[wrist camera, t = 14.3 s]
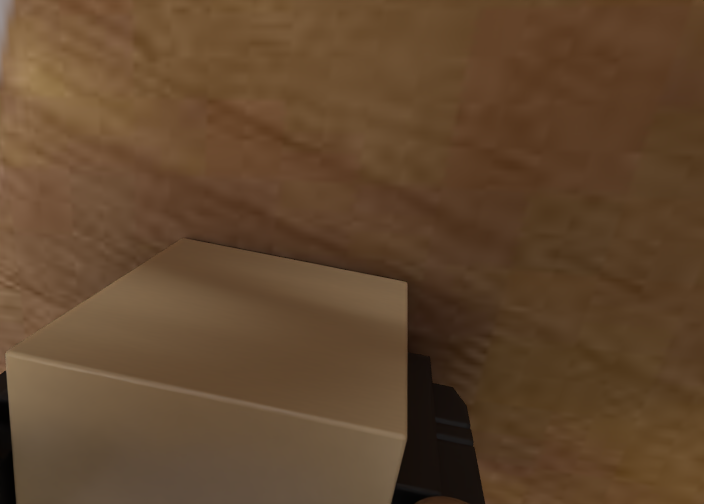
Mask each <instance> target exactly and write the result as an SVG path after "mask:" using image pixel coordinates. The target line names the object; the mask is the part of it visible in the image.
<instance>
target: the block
mask: <svg viewBox="0 0 704 504" xmlns="http://www.w3.org/2000/svg"><path fill="white" fill-rule="evenodd" d="M5 360H6V374H7V388H8V401H9V415H10V428H11V442H12V456H13V469H14V483H15V496H16V504H391V502H392V498H393V494H394V490H395V486H396V482H397V478H398V474H399V470H400V466H401V462H402V458H403V454H404V450H405V446H406V442H407V366H408V285H407V282H404V281H399V280H394V279H389V278H384V277H379V276H374V275H369V274H364V273H359V272H353V271H348V270H343V269H338V268H333V267H328V266H323V265H318V264H313V263H308V262H303V261H298V260H292V259H287V258H282V257H277V256H272V255H267V254H262V253H257V252H252V251H247V250H242V249H237V248H231V247H226V246H221V245H216V244H211V243H206V242H201V241H196V240H191V239H186V238H182V239H180V240H179V241H177V242H175V243H174V244H172V245H171V246H169V247H168V248H166V249H165V250H163V251H161V252H160V253H158V254H157V255H155V256H154V257H152V258H151V259H149V260H147V261H146V262H144V263H143V264H141V265H140V266H138V267H137V268H135V269H133V270H132V271H130V272H129V273H127V274H126V275H124V276H123V277H121V278H119V279H118V280H116V281H115V282H113V283H112V284H110V285H109V286H107V287H105V288H104V289H102V290H101V291H99V292H98V293H96V294H95V295H93V296H91V297H90V298H88V299H87V300H85V301H84V302H82V303H81V304H79V305H77V306H76V307H74V308H73V309H71V310H70V311H68V312H67V313H65V314H63V315H62V316H60V317H59V318H57V319H56V320H54V321H53V322H51V323H49V324H48V325H46V326H45V327H43V328H42V329H40V330H39V331H37V332H35V333H34V334H32V335H31V336H29V337H28V338H26V339H25V340H23V341H21V342H20V343H18V344H17V345H15V346H14V347H12V348H11V349H9V350H8V351H7V352H6V354H5Z"/></svg>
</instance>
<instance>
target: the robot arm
mask: <svg viewBox="0 0 704 504" xmlns="http://www.w3.org/2000/svg"><path fill="white" fill-rule="evenodd" d="M0 504H16V496H15V483H14V469H13V456H12V442H11V428H10V415H9V401H8V388H7V374H6V371H4V372H3V373H2V374H0ZM391 504H485V501H484V496H483V490H482V485H481V480H480V474H479V469H478V464H477V458H476V453H475V448H474V447H473V437H472V432H471V429H470V421H469V416H468V411H467V406H466V404H465V403H464V402H463V400H462V399H461V398H460V396H459V395H458V394H457V392H456V391H455V390H454V388H453V387H449V386H444V385H439V384H435V383H432V373H431V362H430V357H429V356H424V355H419V354H415V353H410V352H408V366H407V442H406V446H405V450H404V454H403V458H402V462H401V466H400V470H399V474H398V478H397V482H396V486H395V490H394V494H393V498H392V502H391Z"/></svg>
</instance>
